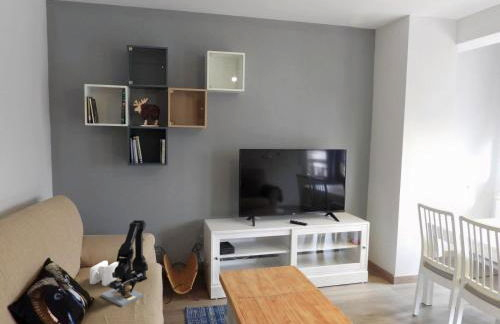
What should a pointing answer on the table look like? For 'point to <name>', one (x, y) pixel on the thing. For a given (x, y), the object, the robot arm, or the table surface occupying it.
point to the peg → (127, 290)
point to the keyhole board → (120, 300)
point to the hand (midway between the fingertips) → (126, 294)
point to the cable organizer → (102, 273)
